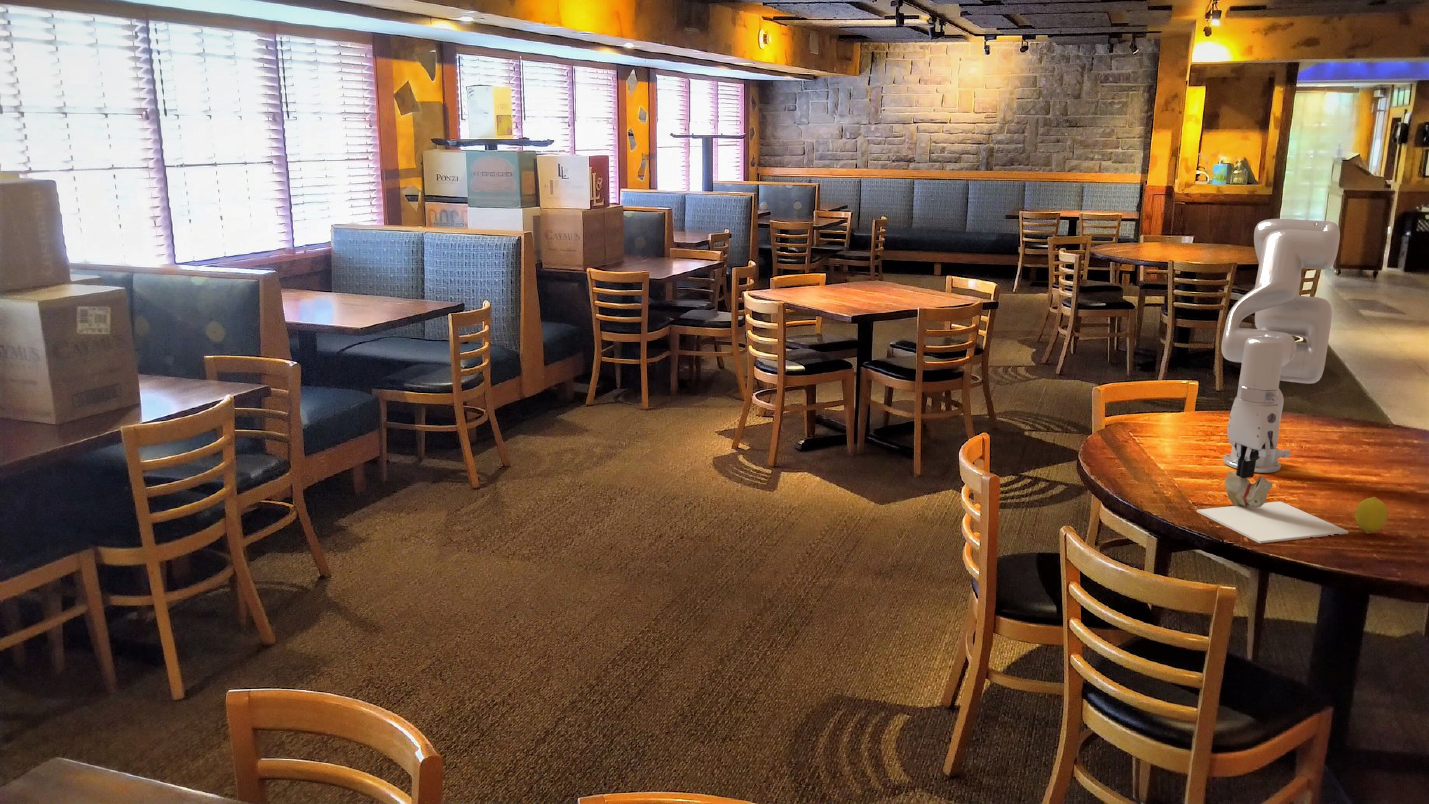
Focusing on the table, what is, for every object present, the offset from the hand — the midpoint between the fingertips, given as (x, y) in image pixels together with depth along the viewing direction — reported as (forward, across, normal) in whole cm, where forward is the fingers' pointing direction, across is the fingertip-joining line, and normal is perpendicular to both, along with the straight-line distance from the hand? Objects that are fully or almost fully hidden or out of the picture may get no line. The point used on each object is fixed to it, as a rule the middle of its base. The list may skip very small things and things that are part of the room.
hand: (1244, 476), depth 224 cm
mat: (+7, -9, 0) cm, 11 cm away
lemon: (+8, -19, -15) cm, 25 cm away
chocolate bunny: (+4, +3, 0) cm, 5 cm away
